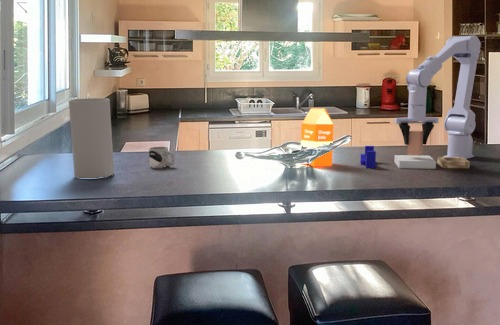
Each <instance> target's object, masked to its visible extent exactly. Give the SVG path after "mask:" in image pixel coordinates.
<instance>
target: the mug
mask: <svg viewBox="0 0 500 325" xmlns="http://www.w3.org/2000/svg"><path fill="white" fill-rule="evenodd" d="M169 155H170V157H171V162H170V161H169ZM148 156H149V160H148V161H149V167H150V166H154V167H164V166H169V167H170V166H173V165H175V161H176V159H175V153H174V152H173V151H171V150H169V147H167V146H153V147H152V146H151V147H148Z"/></svg>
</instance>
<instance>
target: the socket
mask: <svg viewBox="0 0 500 325" xmlns="http://www.w3.org/2000/svg"><path fill="white" fill-rule="evenodd" d="M436 160H437V161H436V164H438V165H439V166H440V167H441V168H442V169H470V166H471V162H470V160H468V159H465V158H463V157H443V156H437V159H436Z"/></svg>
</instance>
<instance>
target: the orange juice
mask: <svg viewBox="0 0 500 325" xmlns="http://www.w3.org/2000/svg"><path fill="white" fill-rule="evenodd" d="M300 131H301V132H300V133H301V134H300V136H301V137H300V148H301V147H302V146H303V147H313V148H317V147H319V146H321V145H323V144H326V145H329V144H330V143H334V122H333V121H332V118H331V117H330V114H329V113H328V111H327V109H326V107H323V108H322V107H311V108H310V110H309V111H308V112H307V114H306V116H305V117H304V119H303V121H302V122H301V130H300ZM332 165H333V149H332V150H331V151H330V152H328V153H326V154H324V155H322V156H320V157H318V158H316V159H315V160H314V161H312V162H311V166H310V167H331V166H332Z"/></svg>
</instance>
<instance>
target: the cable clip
mask: <svg viewBox="0 0 500 325" xmlns="http://www.w3.org/2000/svg"><path fill="white" fill-rule="evenodd" d="M376 154H377V152H376V150H375V146H374V145H365V146H364V153H360V161H359V162H360V165H361V166H365V169H366V170H367V169H368V168H372V169H373V170H374V169H376V158H377V157H376V156H377V155H376Z"/></svg>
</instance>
